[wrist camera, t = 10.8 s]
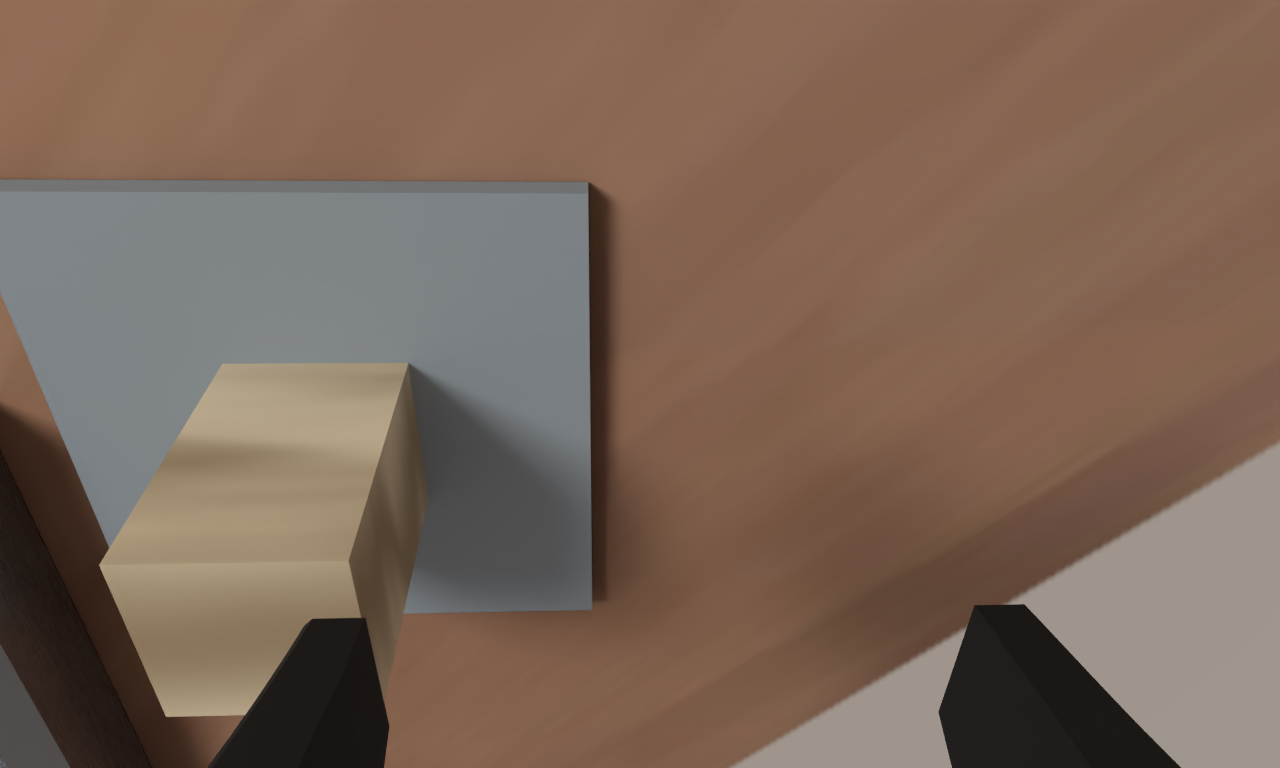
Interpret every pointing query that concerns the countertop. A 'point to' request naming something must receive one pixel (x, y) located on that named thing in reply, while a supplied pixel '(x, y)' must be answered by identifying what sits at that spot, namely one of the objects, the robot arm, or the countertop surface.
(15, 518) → the tray
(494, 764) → the countertop surface
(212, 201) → the mat
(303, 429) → the peg
